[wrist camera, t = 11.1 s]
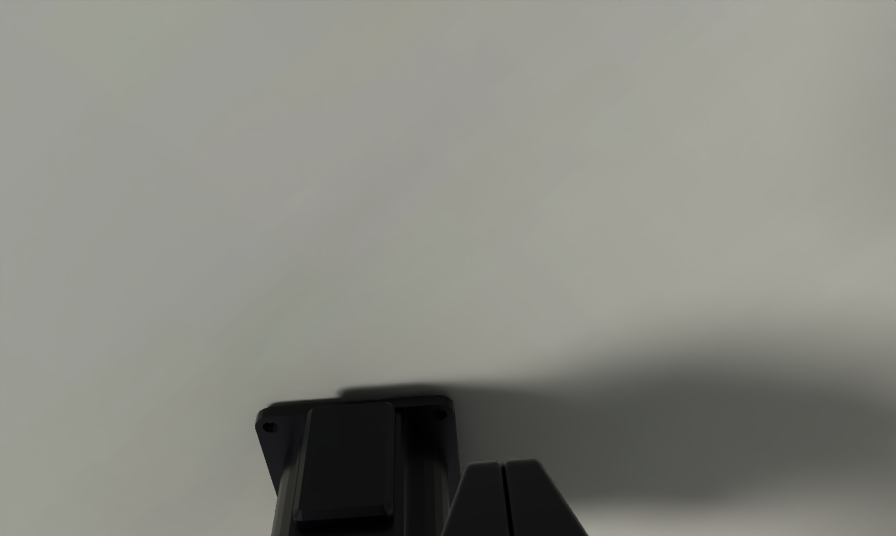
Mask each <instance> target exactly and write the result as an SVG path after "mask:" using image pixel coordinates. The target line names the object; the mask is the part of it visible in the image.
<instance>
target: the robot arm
mask: <svg viewBox="0 0 896 536" xmlns="http://www.w3.org/2000/svg"><path fill="white" fill-rule="evenodd" d="M435 410H442V411H435ZM269 422H273V423H269ZM255 429H256V432H257V435H258V438H259V442H260V445H261V448H262V451H263V454H264V457H265V460H266V463H267V466H268V470H269V473H270V476H271V479H272V482H273V485H274V488H275V491H276V494H277V497H278V498H277V504H276V510H275V516H274V522H273V528H272V534H271V536H588V534H587V533H586V531H585V530H584V528H583V527H582V525H581V524H580V522H579V521H578V519H577V517H576V516H575V514H574V513H573V511H572V510H571V508H570V507H569V505H568V504H567V502H566V501H565V499H564V497H563V496H562V494H561V493H560V491H559V490H558V488H557V487H556V485H555V484H554V482H553V481H552V479H551V477H550V476H549V474H548V473H547V471H546V470H545V468H544V467H543V465H542V464H541V462H540V461H539V460H538V459H536V458H533V457H529V458H515V459H507V460H505V461H504V463H503V467H502V464H501V463H500V462H499V461H497V460H488V461H474V462H470V463H468V464H467V466H466V467H465V469H464V472H463V475H462V477H460V466H459V455H458V444H457V433H456V422H455V410H454V403H453V401H452V400H451V399H450V398H449V397H446V396H442V395H434V396H421V397H407V398H393V399H380V400H366V401H353V402H339V403H326V404H312V405H299V406H285V407H272V408H266V409H263V410H261V411H260V412H259V413H258V415H257V418H256V423H255Z"/></svg>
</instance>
